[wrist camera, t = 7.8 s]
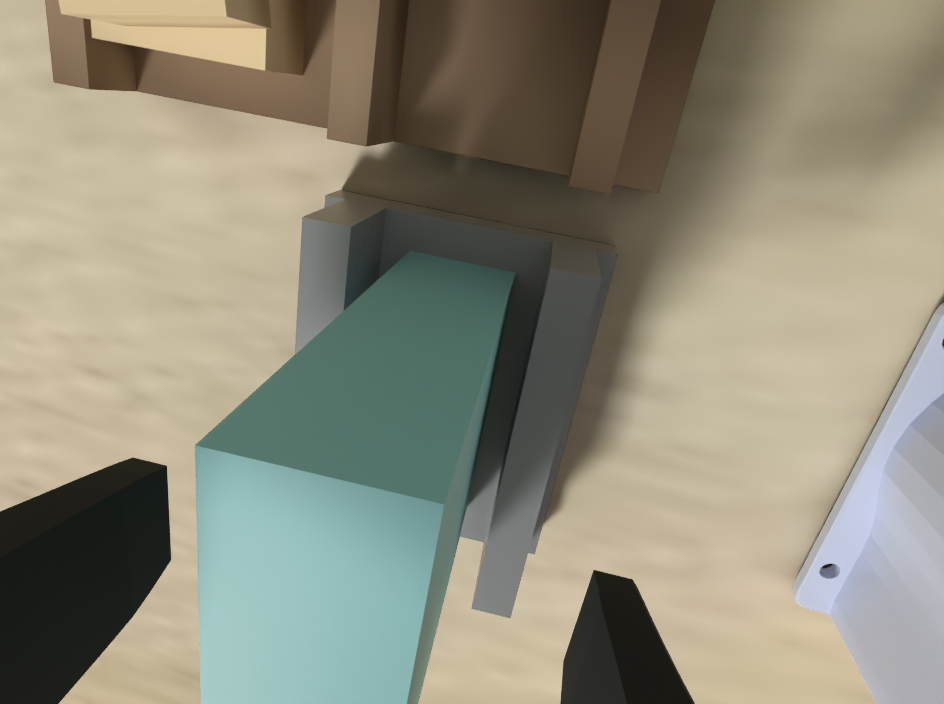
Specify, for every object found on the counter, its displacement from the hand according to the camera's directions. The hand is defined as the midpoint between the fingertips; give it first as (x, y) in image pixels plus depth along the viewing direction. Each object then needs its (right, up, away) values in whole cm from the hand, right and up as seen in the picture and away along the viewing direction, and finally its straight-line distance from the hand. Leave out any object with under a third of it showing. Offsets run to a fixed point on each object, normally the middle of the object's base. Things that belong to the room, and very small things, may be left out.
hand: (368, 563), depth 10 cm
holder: (+1, +3, +7) cm, 7 cm away
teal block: (+1, +2, +6) cm, 6 cm away
